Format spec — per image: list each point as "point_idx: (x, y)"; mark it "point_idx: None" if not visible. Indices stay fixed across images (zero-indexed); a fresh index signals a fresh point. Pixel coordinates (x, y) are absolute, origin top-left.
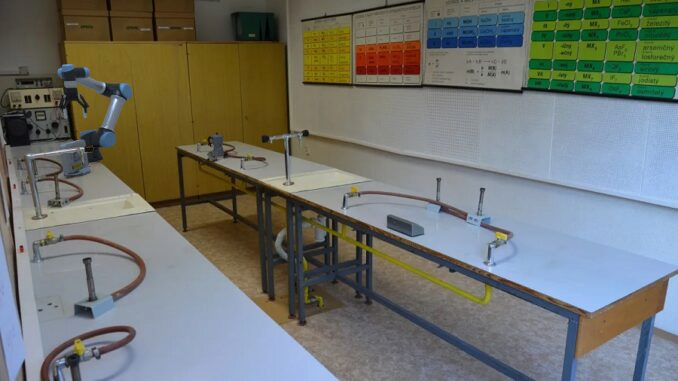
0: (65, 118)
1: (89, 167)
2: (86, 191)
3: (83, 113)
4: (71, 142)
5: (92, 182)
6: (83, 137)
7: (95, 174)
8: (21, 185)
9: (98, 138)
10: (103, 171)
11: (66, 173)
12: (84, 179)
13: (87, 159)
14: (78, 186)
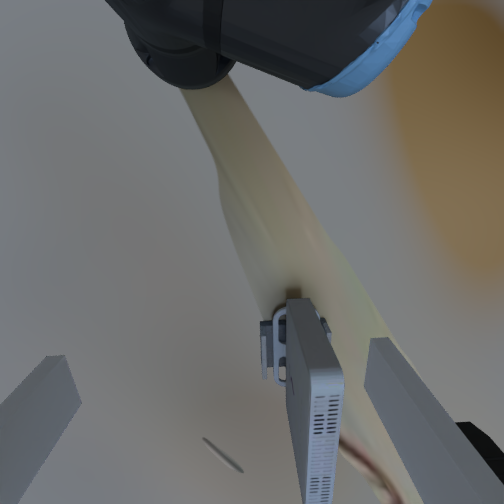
0: (79, 404)
1: (329, 330)
2: (400, 486)
3: (407, 463)
4: (319, 459)
5: (384, 427)
6: (130, 7)
7: (354, 346)
8: (210, 447)
9: (304, 74)
10: (364, 305)
11: (276, 377)
12: (348, 400)
13: (313, 309)
14: (364, 456)
